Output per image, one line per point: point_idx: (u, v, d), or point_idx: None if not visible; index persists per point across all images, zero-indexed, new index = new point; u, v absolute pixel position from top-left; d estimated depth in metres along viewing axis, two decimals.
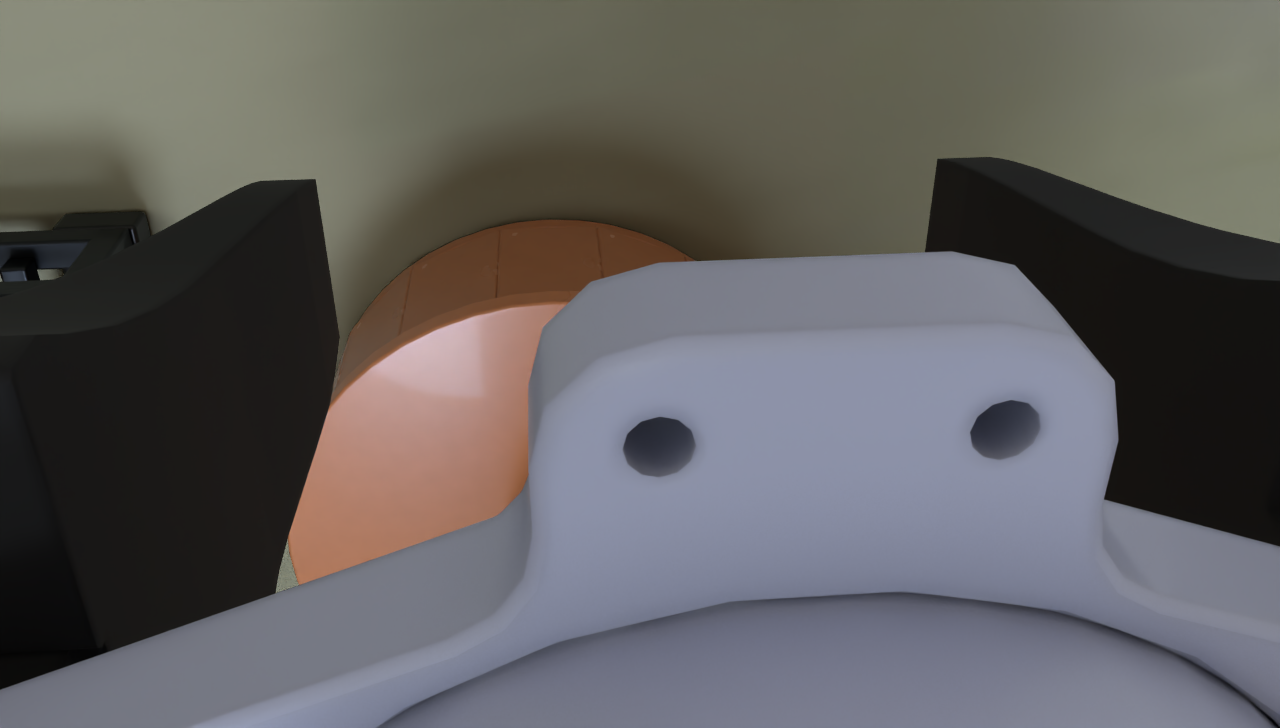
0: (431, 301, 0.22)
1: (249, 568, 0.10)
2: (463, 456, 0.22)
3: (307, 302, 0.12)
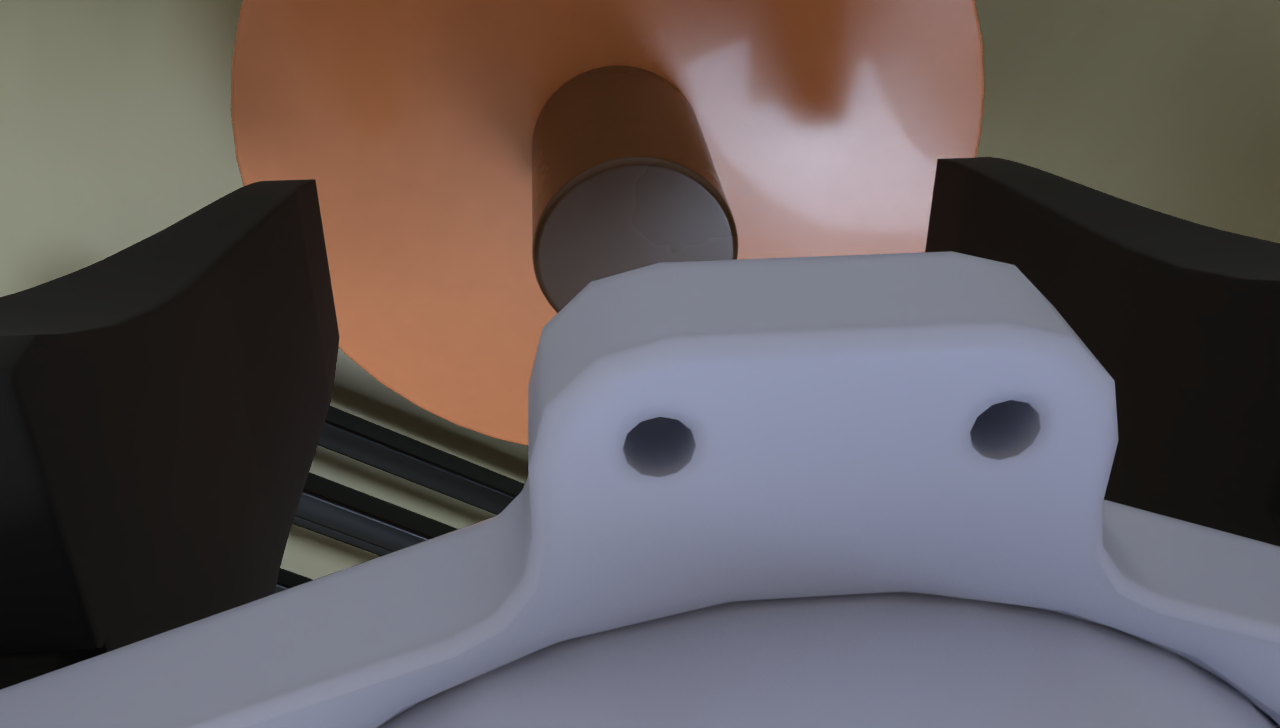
0: None
1: (249, 568, 0.10)
2: (426, 183, 0.17)
3: (307, 302, 0.12)
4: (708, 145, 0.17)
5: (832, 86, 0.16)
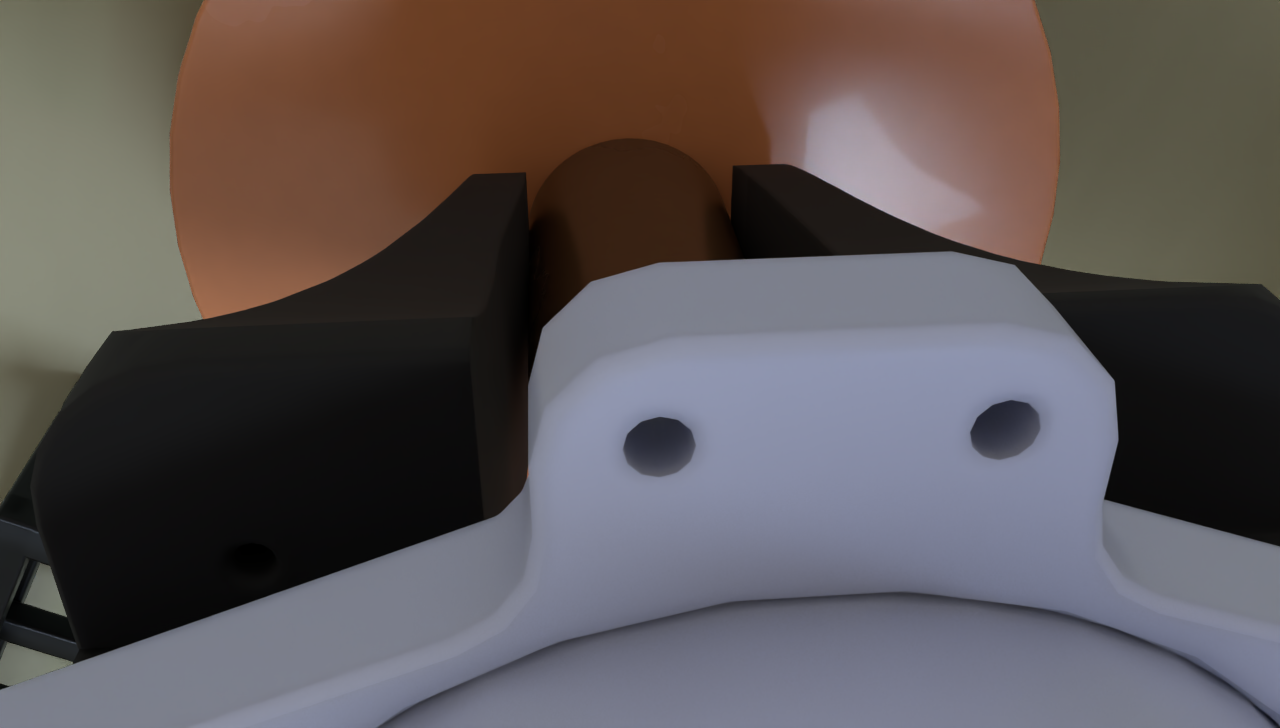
0: None
1: None
2: None
3: (527, 293, 0.13)
4: None
5: (882, 160, 0.14)
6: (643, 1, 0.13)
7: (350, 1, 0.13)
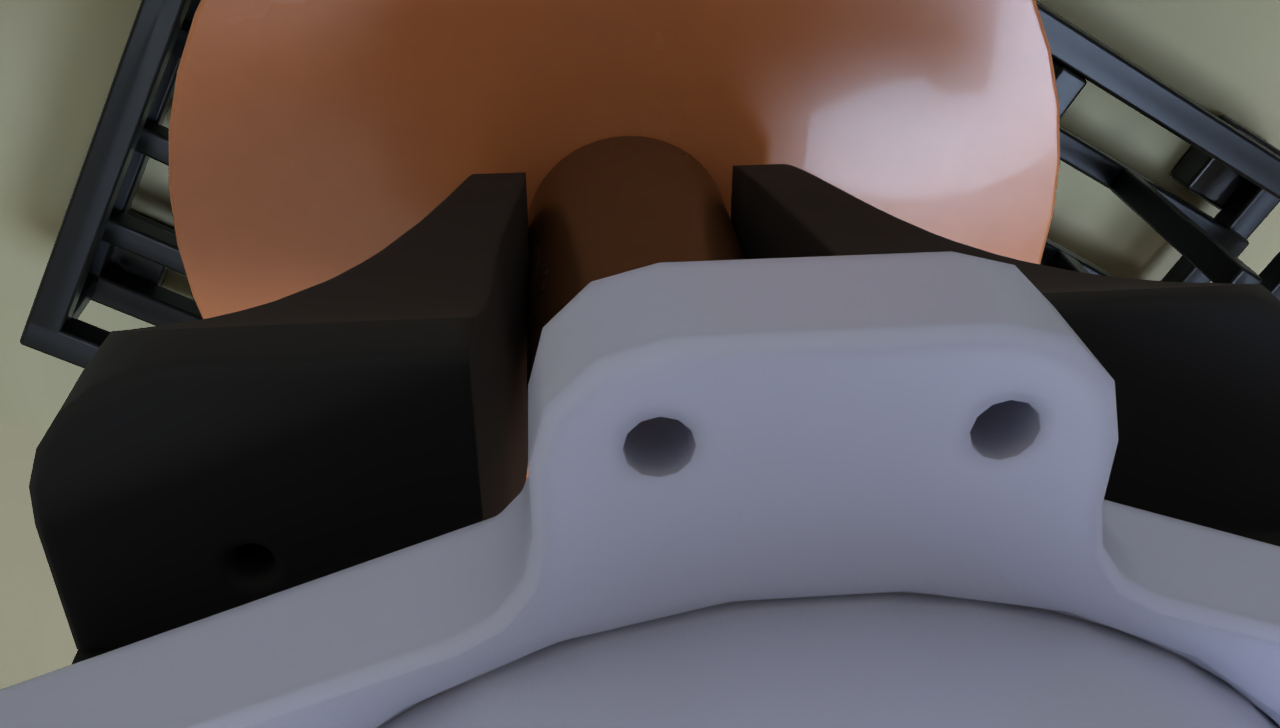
0: None
1: None
2: None
3: None
4: None
5: (881, 157, 0.14)
6: None
7: None
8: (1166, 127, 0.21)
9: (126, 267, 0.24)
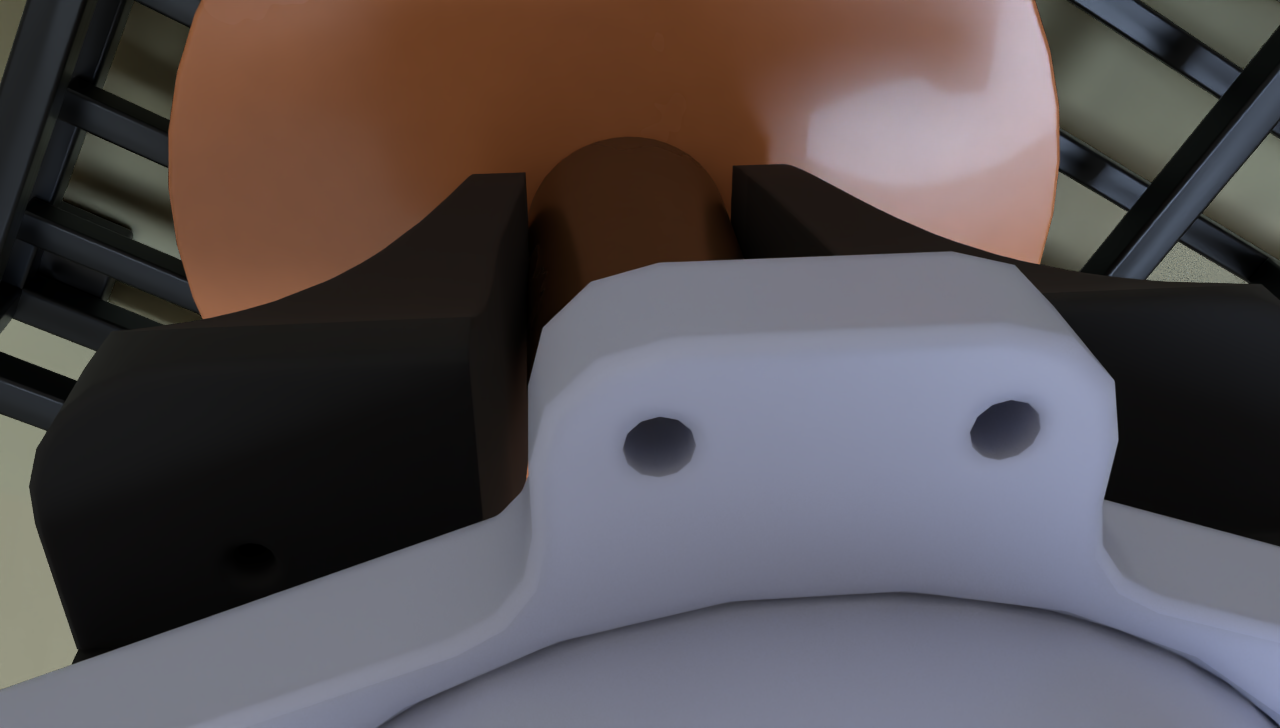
0: None
1: None
2: None
3: None
4: None
5: (881, 158, 0.14)
6: (642, 0, 0.13)
7: (347, 0, 0.13)
8: None
9: (60, 276, 0.18)
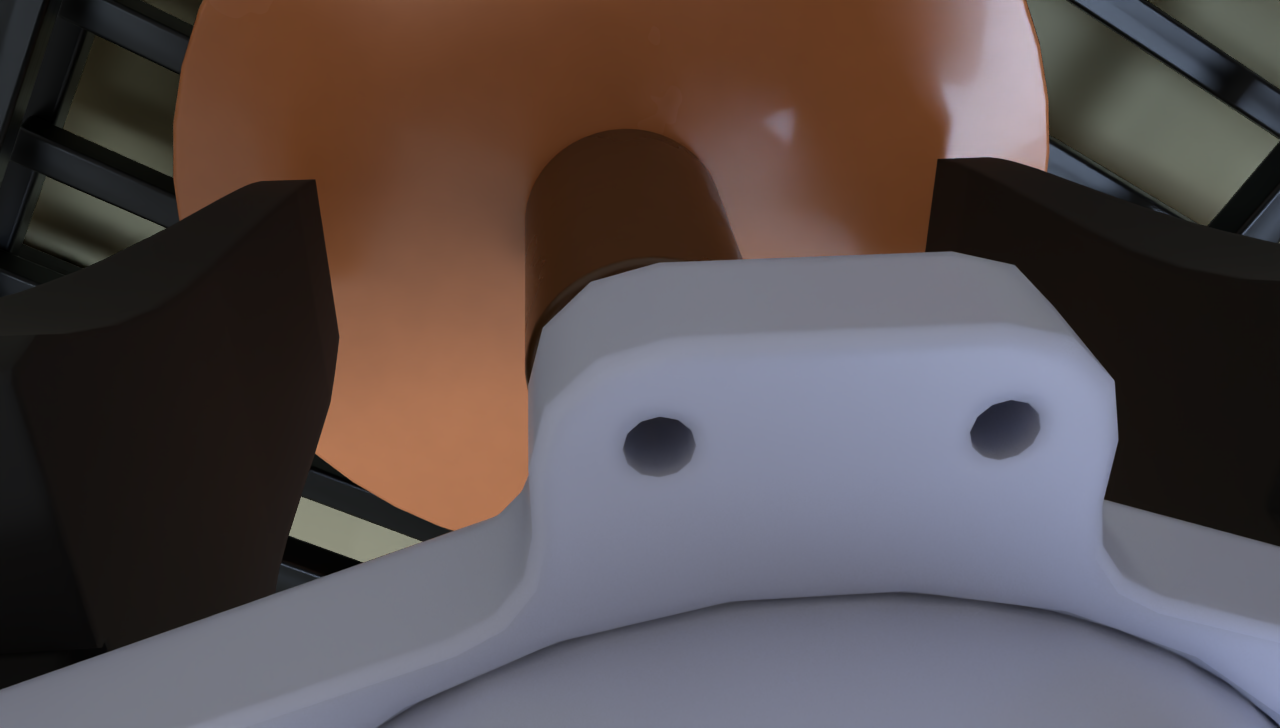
0: None
1: (249, 568, 0.10)
2: (402, 262, 0.14)
3: (307, 302, 0.12)
4: (729, 217, 0.15)
5: (874, 150, 0.14)
6: None
7: None
8: None
9: None
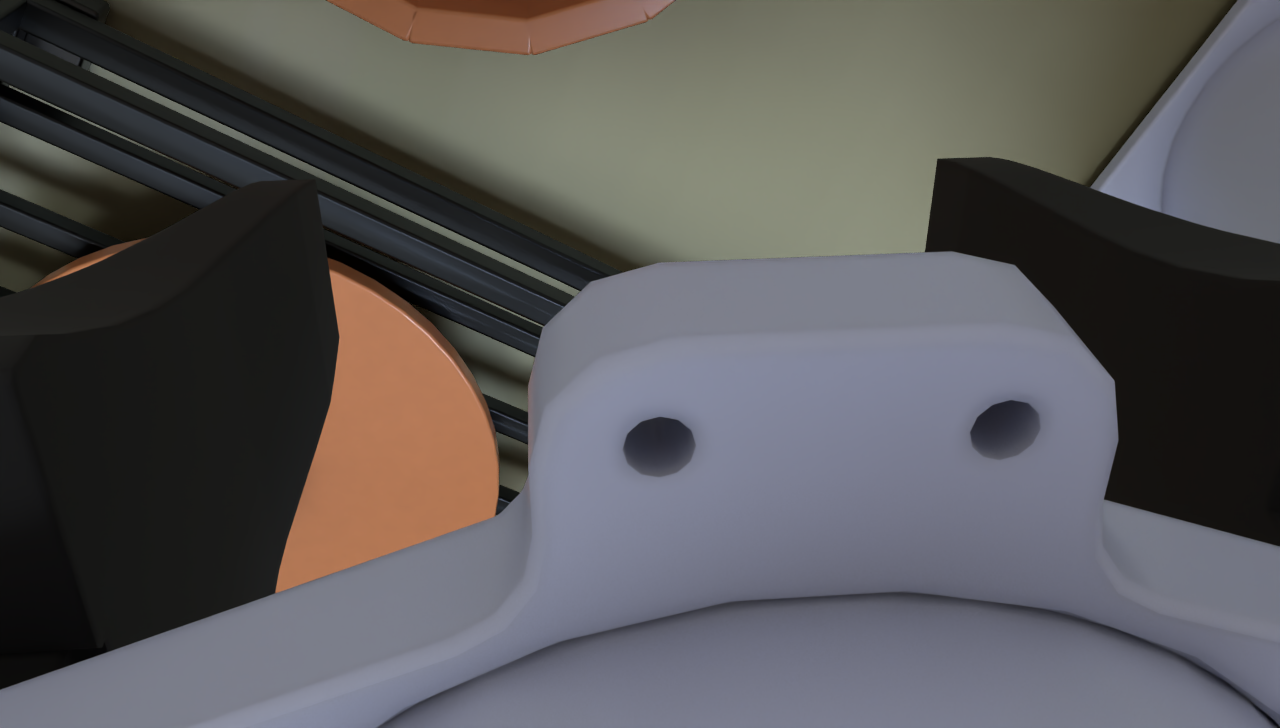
0: None
1: (249, 568, 0.10)
2: None
3: (307, 302, 0.12)
4: None
5: (383, 442, 0.24)
6: None
7: None
8: None
9: None
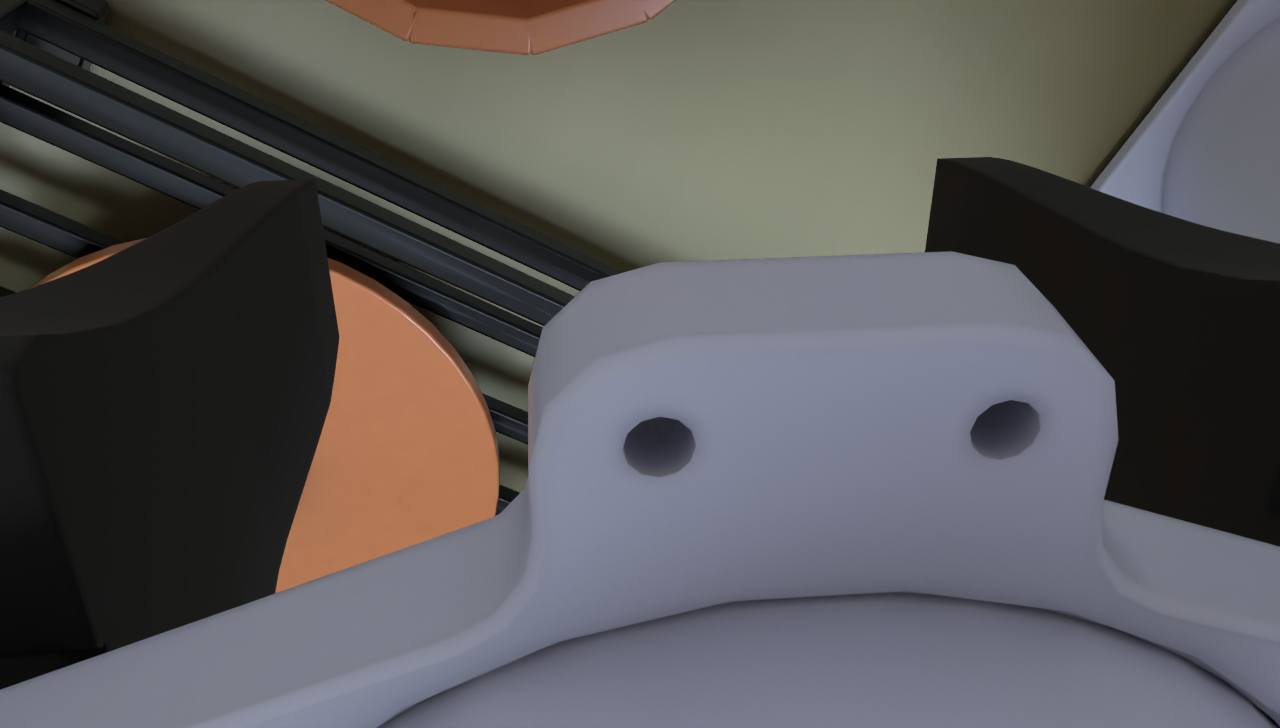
0: None
1: (249, 568, 0.10)
2: None
3: (307, 302, 0.12)
4: None
5: (383, 442, 0.24)
6: None
7: None
8: None
9: None
